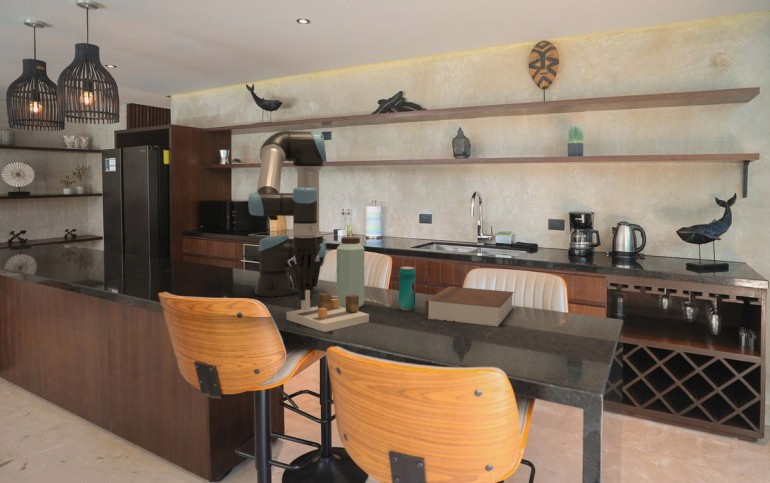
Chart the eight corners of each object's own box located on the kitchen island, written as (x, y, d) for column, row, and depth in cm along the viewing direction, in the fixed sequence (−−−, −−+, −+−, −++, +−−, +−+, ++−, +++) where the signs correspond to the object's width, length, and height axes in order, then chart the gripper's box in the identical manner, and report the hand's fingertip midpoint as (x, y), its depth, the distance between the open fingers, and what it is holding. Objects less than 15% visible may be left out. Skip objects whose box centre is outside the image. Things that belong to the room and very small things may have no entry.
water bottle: (351, 301, 194) (351, 236, 191) (369, 306, 187) (370, 238, 184) (330, 305, 187) (330, 237, 184) (348, 310, 180) (349, 239, 177)
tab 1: (317, 309, 169) (317, 294, 169) (324, 307, 172) (324, 293, 171) (323, 310, 167) (323, 295, 167) (330, 309, 169) (330, 294, 169)
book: (425, 319, 170) (425, 300, 169) (448, 303, 196) (449, 286, 195) (499, 328, 160) (500, 307, 160) (513, 309, 186) (514, 292, 185)
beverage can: (413, 311, 180) (414, 269, 178) (397, 310, 181) (398, 268, 179) (416, 307, 185) (416, 266, 184) (400, 306, 186) (400, 266, 185)
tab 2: (345, 310, 167) (345, 295, 167) (352, 309, 170) (352, 294, 169) (351, 312, 165) (351, 297, 165) (358, 311, 167) (358, 296, 167)
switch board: (286, 319, 167) (286, 302, 166) (330, 310, 179) (330, 295, 179) (324, 332, 152) (324, 314, 152) (369, 321, 165) (369, 305, 164)
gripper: (294, 238, 155) (295, 315, 157) (328, 236, 164) (328, 308, 166) (280, 236, 160) (281, 310, 162) (314, 234, 169) (314, 304, 172)
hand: (305, 309), depth 164 cm, fingers closed
